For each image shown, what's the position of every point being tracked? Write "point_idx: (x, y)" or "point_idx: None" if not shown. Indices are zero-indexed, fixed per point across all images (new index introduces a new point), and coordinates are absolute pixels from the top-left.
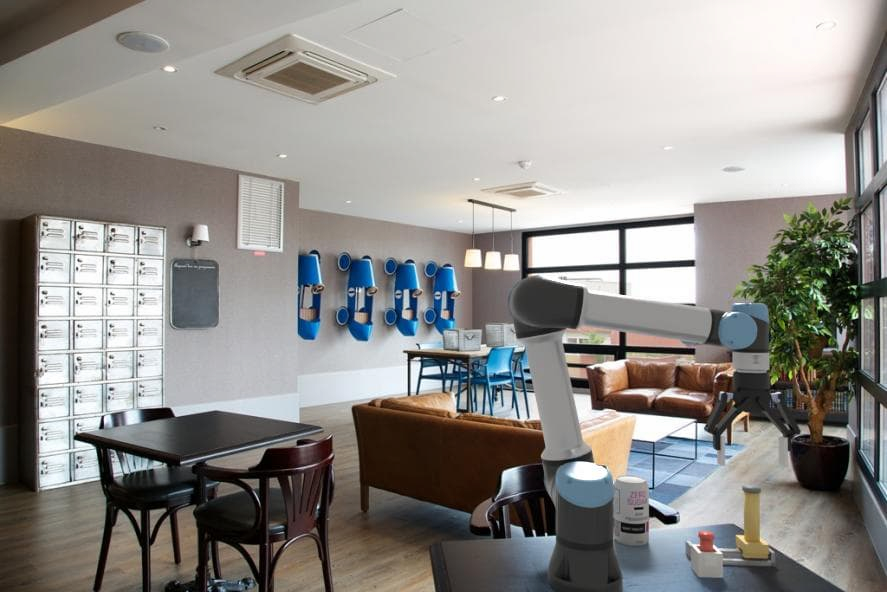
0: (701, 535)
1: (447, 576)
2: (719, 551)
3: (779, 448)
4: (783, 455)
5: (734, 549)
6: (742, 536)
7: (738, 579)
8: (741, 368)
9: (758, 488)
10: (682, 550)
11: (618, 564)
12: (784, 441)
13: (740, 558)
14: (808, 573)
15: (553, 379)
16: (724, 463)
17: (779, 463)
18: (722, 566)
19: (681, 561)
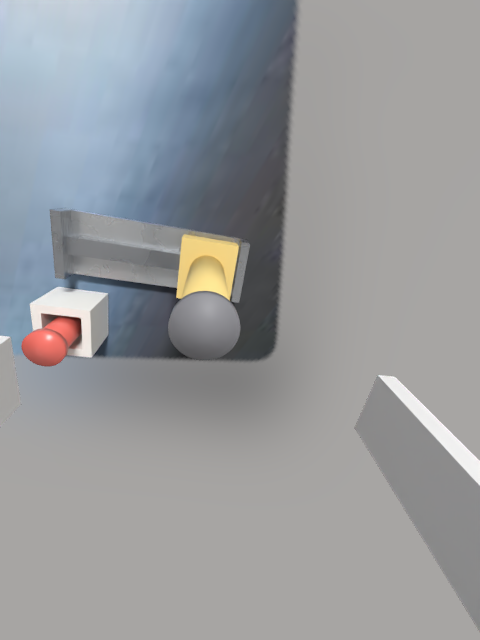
0: (28, 356)
1: None
2: (88, 346)
3: (442, 463)
4: (392, 473)
5: (169, 257)
6: (194, 249)
7: (135, 340)
8: None
9: (222, 347)
10: (63, 186)
11: None
12: (467, 603)
13: (174, 275)
14: (277, 323)
15: None
16: (6, 415)
17: (377, 385)
18: (100, 344)
19: (44, 254)
